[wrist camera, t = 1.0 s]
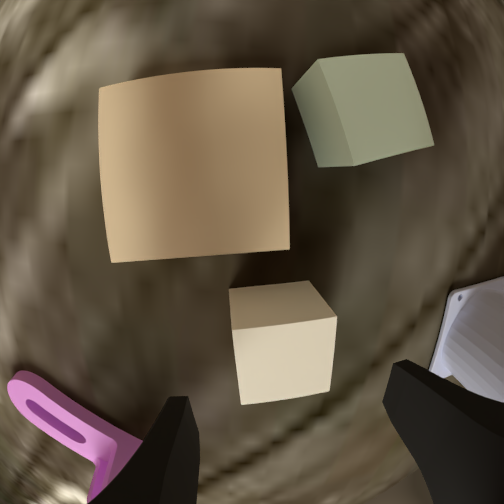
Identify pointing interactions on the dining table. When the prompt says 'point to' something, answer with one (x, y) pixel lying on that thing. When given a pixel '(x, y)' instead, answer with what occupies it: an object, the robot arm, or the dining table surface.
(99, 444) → the bracket
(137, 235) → the oak slab
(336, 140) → the sage cube
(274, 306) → the cream cube
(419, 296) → the dining table surface
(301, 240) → the dining table surface
